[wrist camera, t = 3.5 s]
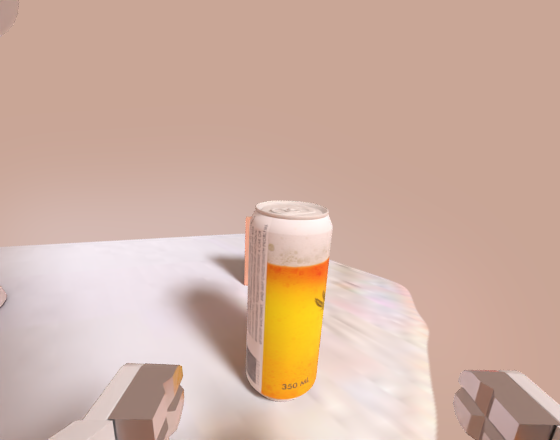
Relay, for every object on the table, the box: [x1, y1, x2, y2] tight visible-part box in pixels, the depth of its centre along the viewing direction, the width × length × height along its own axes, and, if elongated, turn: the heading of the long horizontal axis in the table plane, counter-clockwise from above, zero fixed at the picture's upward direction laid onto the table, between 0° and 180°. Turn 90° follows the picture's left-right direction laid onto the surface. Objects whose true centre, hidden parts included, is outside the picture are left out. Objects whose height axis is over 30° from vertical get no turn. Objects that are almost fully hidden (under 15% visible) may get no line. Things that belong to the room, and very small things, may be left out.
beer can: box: [246, 201, 332, 402], centre depth 21 cm, size 6×6×15 cm
